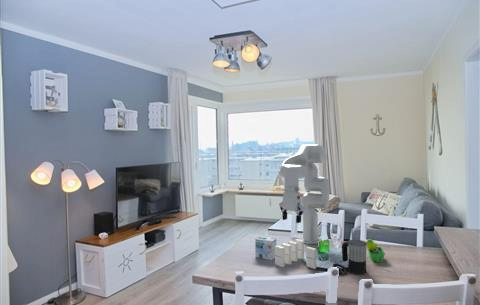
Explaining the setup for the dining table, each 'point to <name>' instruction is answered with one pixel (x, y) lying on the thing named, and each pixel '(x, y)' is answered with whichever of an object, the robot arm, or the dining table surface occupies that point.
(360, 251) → the milk frother
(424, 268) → the dining table surface
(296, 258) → the domino
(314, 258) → the domino
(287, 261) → the domino
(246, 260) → the dining table surface
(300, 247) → the domino
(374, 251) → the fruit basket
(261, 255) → the light bulb box
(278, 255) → the domino
